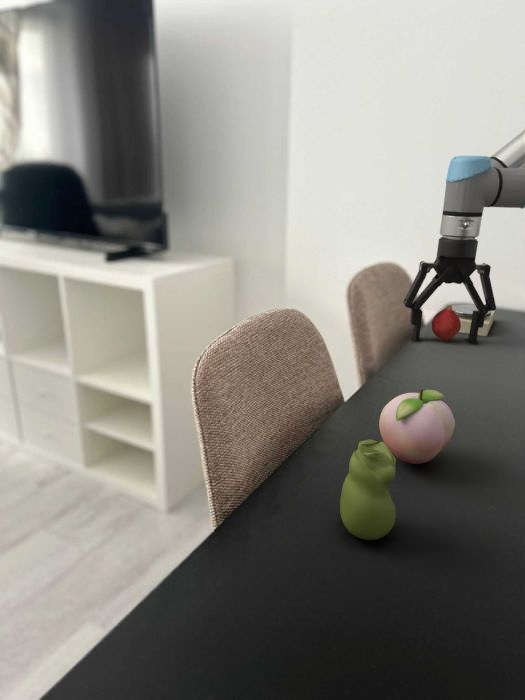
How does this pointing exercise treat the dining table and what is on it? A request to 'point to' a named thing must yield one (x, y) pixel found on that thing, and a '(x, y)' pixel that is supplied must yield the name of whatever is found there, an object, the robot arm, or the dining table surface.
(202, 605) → the dining table surface
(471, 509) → the dining table surface
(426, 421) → the decorative fruit
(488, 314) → the scale platform
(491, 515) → the dining table surface
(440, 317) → the onion
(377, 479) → the pear
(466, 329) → the scale
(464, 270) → the robot arm
